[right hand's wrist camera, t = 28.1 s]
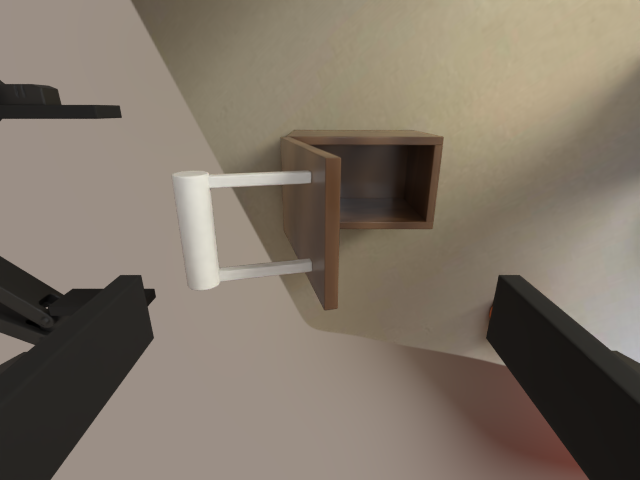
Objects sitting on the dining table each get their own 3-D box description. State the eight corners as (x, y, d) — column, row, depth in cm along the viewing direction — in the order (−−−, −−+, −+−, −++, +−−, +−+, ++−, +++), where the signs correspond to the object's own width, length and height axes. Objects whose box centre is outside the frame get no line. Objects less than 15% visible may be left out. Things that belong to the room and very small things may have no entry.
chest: (414, 130, 43) (444, 136, 32) (407, 202, 46) (432, 229, 36) (293, 130, 43) (285, 136, 32) (295, 202, 46) (288, 228, 36)
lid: (341, 157, 18) (157, 163, 16) (337, 309, 21) (184, 330, 19) (289, 136, 32) (188, 138, 30) (292, 230, 35) (200, 237, 33)
